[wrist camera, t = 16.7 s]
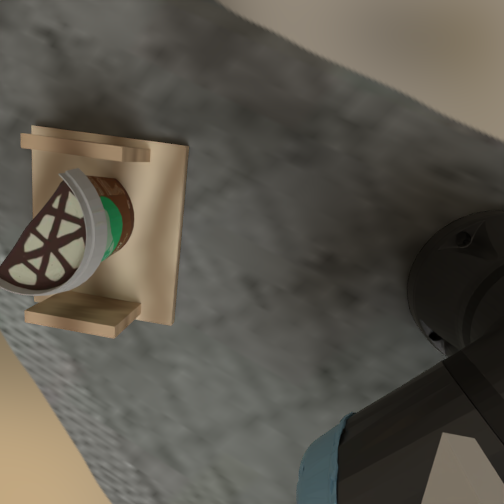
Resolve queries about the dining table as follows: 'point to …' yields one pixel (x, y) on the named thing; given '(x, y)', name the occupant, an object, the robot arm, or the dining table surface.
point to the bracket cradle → (141, 240)
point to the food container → (69, 236)
